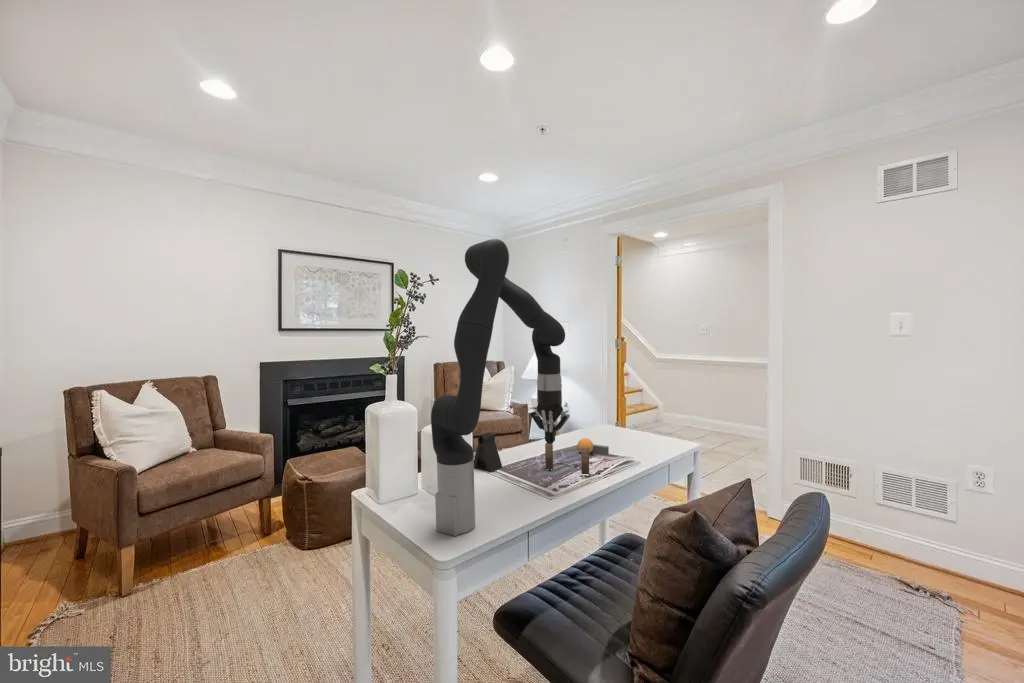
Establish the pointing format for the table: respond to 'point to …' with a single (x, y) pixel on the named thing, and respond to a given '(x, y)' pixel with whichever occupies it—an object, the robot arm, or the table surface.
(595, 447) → the wall
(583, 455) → the right post
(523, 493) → the table surface
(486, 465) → the phone stand
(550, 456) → the left post
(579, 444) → the ball
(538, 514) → the table surface
